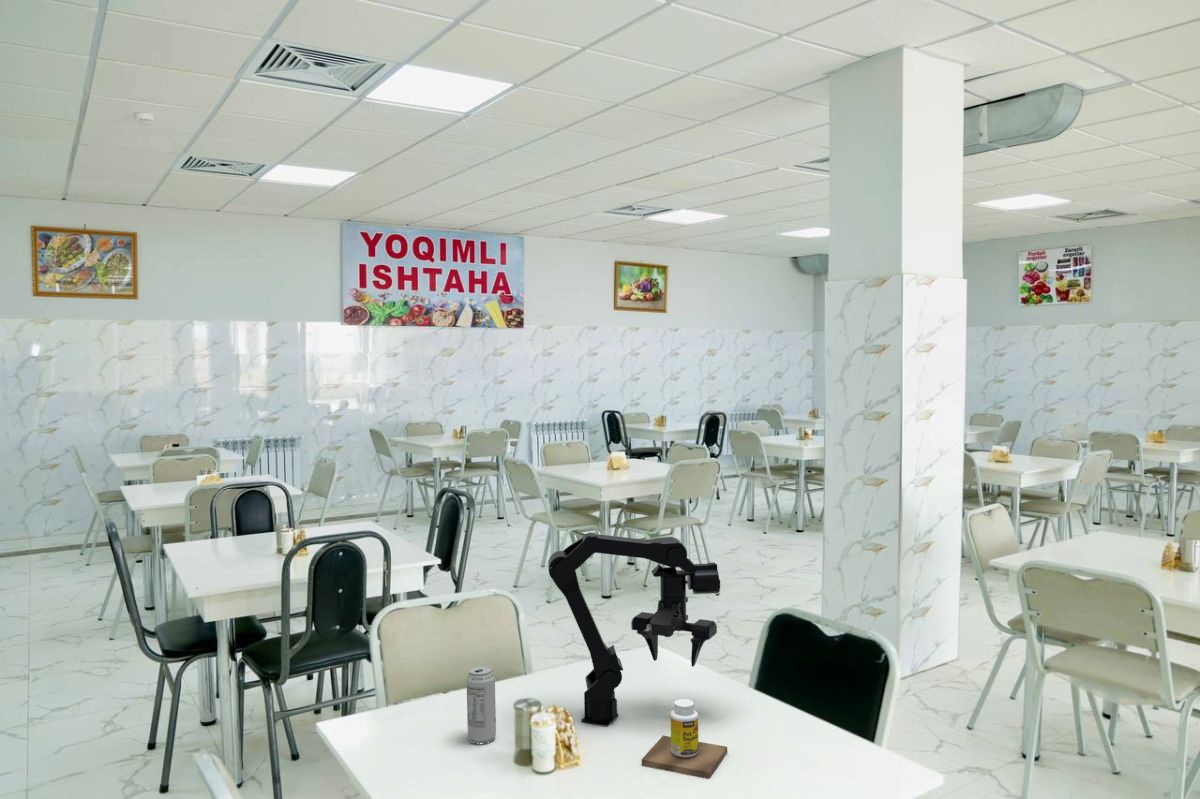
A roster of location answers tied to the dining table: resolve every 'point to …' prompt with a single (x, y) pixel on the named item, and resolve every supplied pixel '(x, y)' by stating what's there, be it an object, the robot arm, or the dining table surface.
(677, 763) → the walnut board
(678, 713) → the supplement bottle
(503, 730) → the dining table surface
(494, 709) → the energy drink can
